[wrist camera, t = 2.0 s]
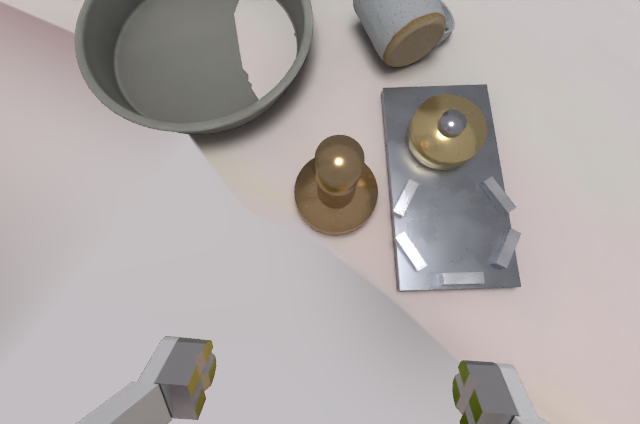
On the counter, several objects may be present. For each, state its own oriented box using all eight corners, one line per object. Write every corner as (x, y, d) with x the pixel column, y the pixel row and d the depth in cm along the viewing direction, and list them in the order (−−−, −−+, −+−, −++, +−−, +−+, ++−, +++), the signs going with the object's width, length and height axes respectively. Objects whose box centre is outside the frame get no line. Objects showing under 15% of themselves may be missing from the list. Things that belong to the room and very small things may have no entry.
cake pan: (198, 195, 34) (179, 181, 30) (59, 56, 39) (25, 25, 34) (358, 48, 39) (362, 16, 34) (216, -64, 43) (204, -105, 38)
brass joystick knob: (296, 236, 33) (285, 212, 23) (295, 161, 35) (284, 110, 25) (377, 234, 33) (399, 208, 23) (372, 158, 35) (390, 106, 25)
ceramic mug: (379, 81, 37) (394, 27, 30) (348, 25, 39) (355, -39, 31) (462, 49, 38) (497, -10, 31) (429, -4, 40) (454, -73, 33)
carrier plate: (394, 290, 32) (406, 290, 27) (378, 94, 37) (386, 67, 32) (516, 287, 32) (548, 285, 27) (483, 91, 37) (505, 62, 32)
